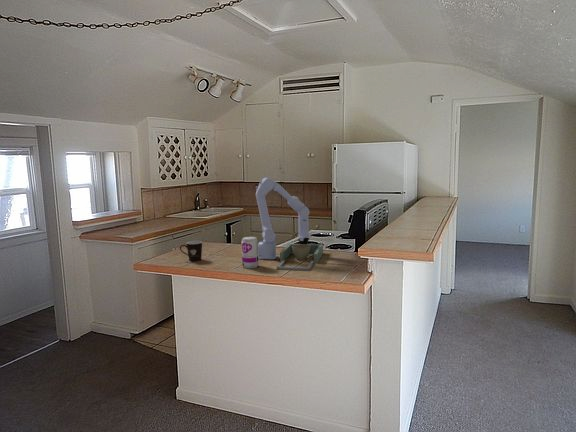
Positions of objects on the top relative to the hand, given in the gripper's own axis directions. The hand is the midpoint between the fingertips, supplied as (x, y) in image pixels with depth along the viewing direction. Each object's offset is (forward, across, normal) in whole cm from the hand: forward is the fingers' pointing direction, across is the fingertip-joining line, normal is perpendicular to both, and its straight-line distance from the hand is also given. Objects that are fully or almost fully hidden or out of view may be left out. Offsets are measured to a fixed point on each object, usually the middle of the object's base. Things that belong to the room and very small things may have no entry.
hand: (304, 250), depth 240 cm
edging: (+2, -23, 0) cm, 23 cm away
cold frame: (+2, -6, 0) cm, 7 cm away
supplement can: (+3, -27, +23) cm, 36 cm away
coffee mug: (+3, -18, +59) cm, 62 cm away
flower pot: (+3, -8, 0) cm, 9 cm away
